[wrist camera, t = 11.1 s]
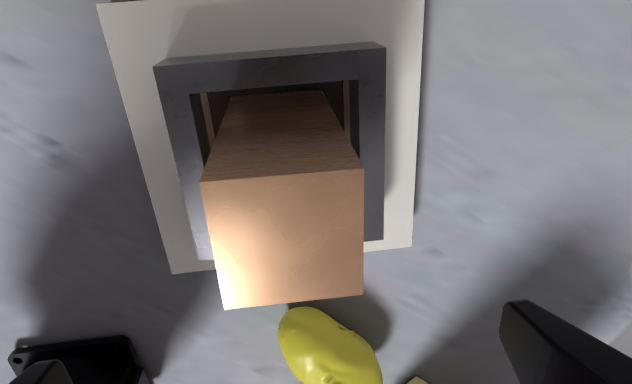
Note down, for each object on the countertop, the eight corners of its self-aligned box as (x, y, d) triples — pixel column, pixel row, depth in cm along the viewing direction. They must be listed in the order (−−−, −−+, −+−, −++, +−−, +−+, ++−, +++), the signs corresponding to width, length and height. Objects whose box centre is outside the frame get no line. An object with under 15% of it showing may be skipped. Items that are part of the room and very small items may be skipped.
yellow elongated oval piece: (315, 277, 23) (324, 328, 19) (389, 351, 26) (407, 406, 22) (258, 315, 23) (256, 371, 20) (337, 382, 27) (347, 440, 23)
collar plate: (178, 256, 21) (162, 302, 18) (110, 2, 15) (69, 5, 12) (402, 231, 22) (425, 271, 18) (412, -19, 16) (447, -22, 13)
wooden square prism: (243, 178, 19) (224, 310, 11) (231, 96, 18) (199, 182, 10) (324, 171, 20) (362, 294, 12) (321, 90, 18) (364, 168, 10)
